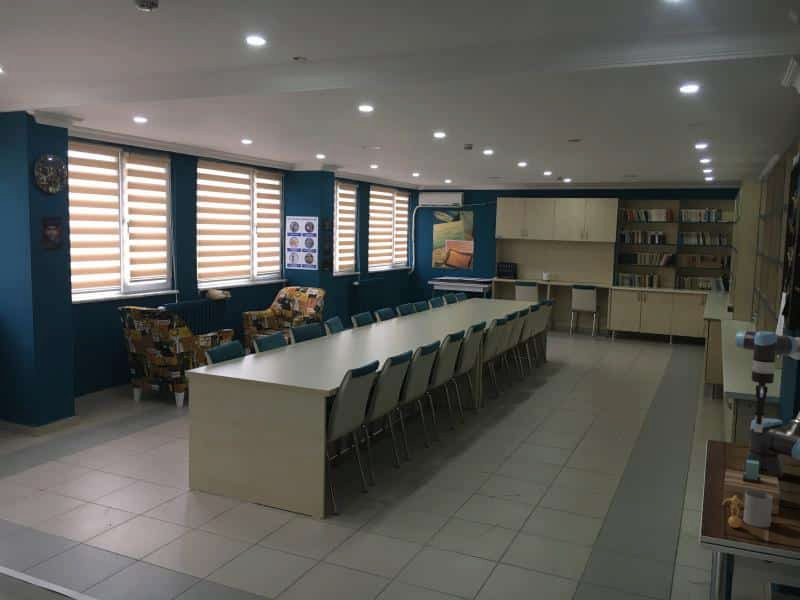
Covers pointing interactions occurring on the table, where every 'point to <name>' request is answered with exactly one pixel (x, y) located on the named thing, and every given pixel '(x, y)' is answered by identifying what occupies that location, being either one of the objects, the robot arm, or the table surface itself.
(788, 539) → the table surface
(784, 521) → the table surface
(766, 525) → the cup
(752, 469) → the peg
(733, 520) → the figurine
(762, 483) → the socket block
